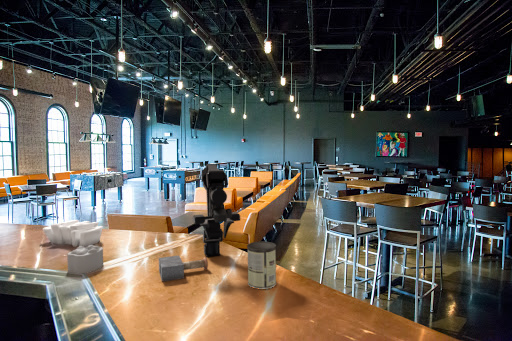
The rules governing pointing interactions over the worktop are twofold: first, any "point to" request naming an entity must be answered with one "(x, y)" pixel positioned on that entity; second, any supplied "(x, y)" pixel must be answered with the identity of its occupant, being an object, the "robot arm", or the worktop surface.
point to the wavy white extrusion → (74, 233)
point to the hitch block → (171, 268)
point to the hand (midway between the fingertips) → (216, 238)
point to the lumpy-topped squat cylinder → (85, 259)
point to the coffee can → (261, 265)
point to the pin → (196, 264)
